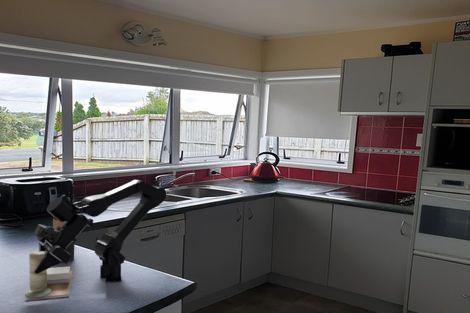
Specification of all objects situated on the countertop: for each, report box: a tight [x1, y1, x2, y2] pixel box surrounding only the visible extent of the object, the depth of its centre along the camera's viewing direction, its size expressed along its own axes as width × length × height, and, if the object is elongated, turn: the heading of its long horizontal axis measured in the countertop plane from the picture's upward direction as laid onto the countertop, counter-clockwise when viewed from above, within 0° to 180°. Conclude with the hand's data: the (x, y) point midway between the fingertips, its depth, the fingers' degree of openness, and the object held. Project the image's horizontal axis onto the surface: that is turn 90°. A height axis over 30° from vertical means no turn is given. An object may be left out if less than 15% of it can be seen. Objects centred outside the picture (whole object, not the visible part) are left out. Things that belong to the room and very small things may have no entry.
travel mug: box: [52, 216, 76, 264], centre depth 157 cm, size 8×8×20 cm
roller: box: [28, 250, 47, 291], centre depth 126 cm, size 5×5×11 cm
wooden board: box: [25, 269, 74, 303], centre depth 135 cm, size 13×22×2 cm, turn 18°
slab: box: [47, 266, 71, 285], centre depth 135 cm, size 9×6×4 cm, turn 108°
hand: (33, 270), depth 126 cm, fingers closed on roller, 5 cm apart
